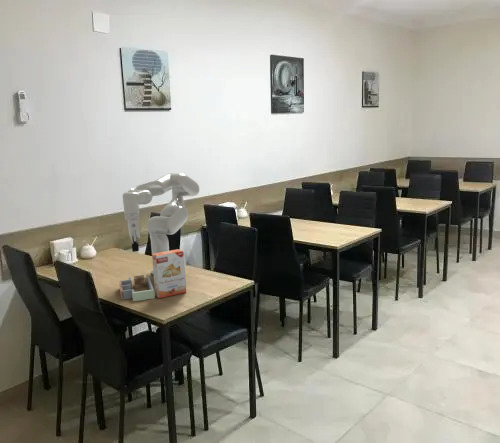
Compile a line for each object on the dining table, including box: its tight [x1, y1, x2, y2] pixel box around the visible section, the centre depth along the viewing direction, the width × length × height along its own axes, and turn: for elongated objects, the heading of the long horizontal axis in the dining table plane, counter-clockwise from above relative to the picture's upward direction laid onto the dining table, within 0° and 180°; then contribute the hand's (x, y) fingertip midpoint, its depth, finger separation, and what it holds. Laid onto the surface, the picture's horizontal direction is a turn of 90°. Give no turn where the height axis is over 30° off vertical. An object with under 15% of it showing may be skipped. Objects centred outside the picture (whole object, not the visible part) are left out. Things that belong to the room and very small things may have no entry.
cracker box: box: [151, 248, 187, 299], centre depth 230 cm, size 14×6×21 cm, turn 122°
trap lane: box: [118, 274, 156, 302], centre depth 238 cm, size 15×27×4 cm, turn 17°
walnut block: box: [133, 274, 146, 289], centre depth 247 cm, size 5×5×5 cm
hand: (135, 251), depth 250 cm, fingers closed
